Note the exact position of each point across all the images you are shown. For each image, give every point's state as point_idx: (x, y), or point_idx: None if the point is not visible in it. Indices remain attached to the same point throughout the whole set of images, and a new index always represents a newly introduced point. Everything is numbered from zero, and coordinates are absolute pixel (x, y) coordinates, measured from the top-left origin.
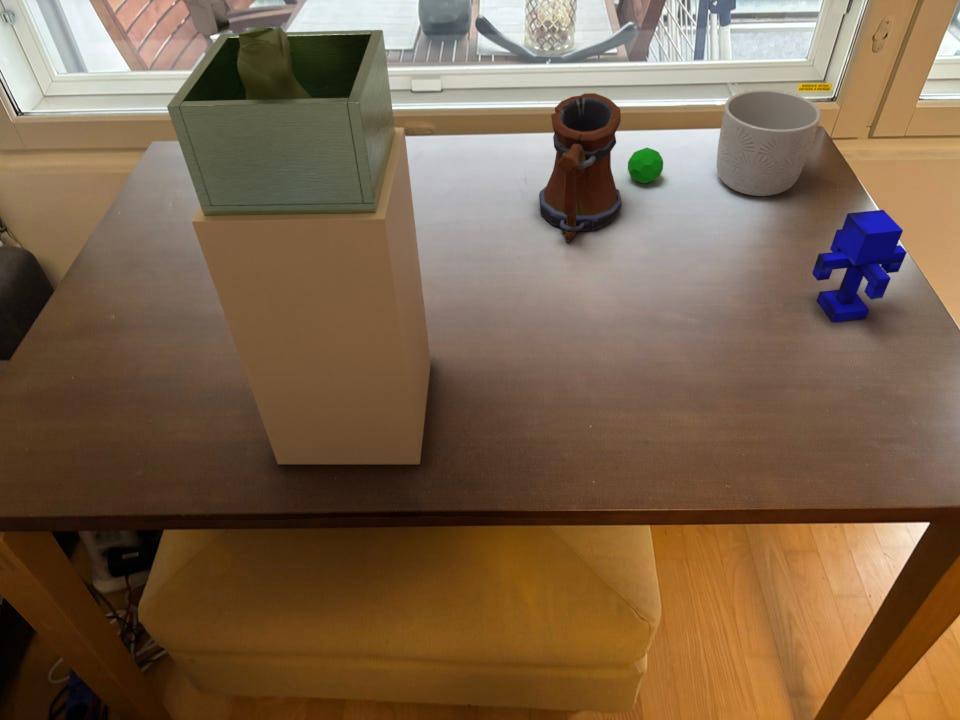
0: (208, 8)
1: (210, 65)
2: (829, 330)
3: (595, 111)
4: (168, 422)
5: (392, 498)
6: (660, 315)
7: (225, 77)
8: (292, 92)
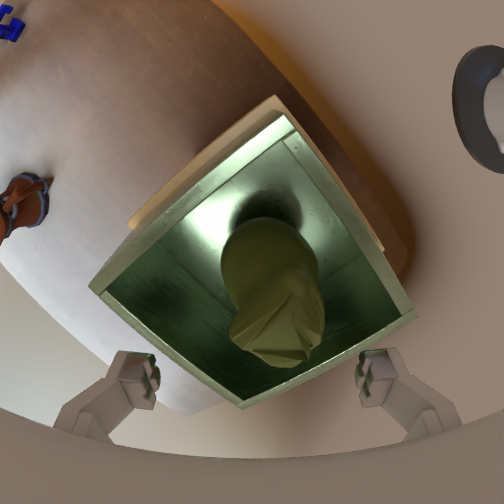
0: (404, 373)
1: (307, 368)
2: (31, 20)
3: None
4: None
5: (294, 96)
6: (66, 84)
7: None
8: (275, 265)
